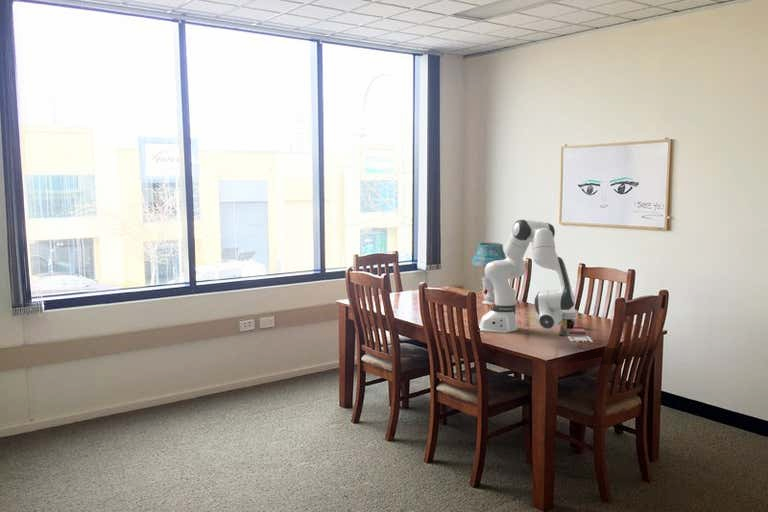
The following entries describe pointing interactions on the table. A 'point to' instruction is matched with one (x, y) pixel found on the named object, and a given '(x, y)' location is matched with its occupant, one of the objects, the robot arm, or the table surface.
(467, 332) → the table surface
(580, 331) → the ink pad
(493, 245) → the table lamp
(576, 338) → the sheet
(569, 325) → the coffee mug
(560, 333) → the stamp
